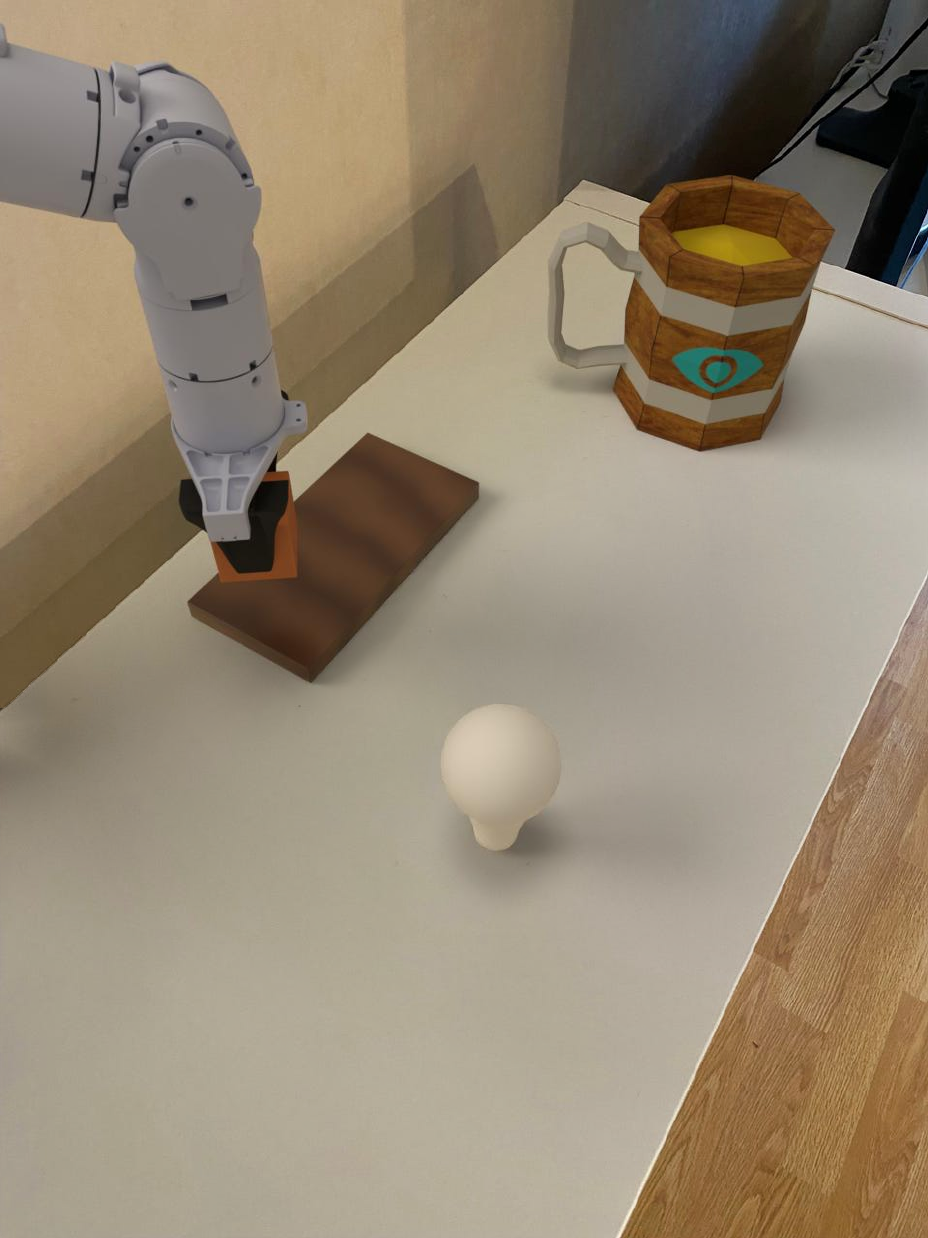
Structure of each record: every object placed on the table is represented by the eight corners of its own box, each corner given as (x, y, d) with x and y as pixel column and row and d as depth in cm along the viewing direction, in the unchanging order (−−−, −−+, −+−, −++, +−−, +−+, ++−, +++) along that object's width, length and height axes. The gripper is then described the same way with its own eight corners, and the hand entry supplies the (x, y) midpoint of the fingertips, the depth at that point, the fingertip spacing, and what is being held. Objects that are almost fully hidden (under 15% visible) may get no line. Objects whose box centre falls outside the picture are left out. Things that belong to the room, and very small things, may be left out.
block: (220, 583, 60) (206, 530, 57) (224, 528, 63) (211, 474, 59) (297, 577, 60) (288, 524, 57) (297, 523, 63) (288, 470, 60)
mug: (773, 351, 86) (824, 180, 74) (788, 458, 78) (848, 285, 66) (542, 333, 87) (557, 163, 76) (532, 437, 79) (547, 263, 67)
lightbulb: (488, 909, 55) (495, 811, 46) (419, 829, 58) (414, 723, 49) (571, 844, 57) (593, 739, 49) (501, 770, 60) (510, 659, 52)
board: (310, 683, 64) (308, 669, 63) (191, 616, 67) (186, 601, 66) (479, 497, 75) (479, 482, 74) (368, 447, 78) (367, 431, 77)
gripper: (296, 439, 46) (324, 626, 56) (296, 260, 55) (321, 451, 65) (136, 448, 45) (195, 636, 56) (163, 267, 54) (210, 457, 65)
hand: (255, 537), depth 61 cm, fingers closed on block, 4 cm apart
